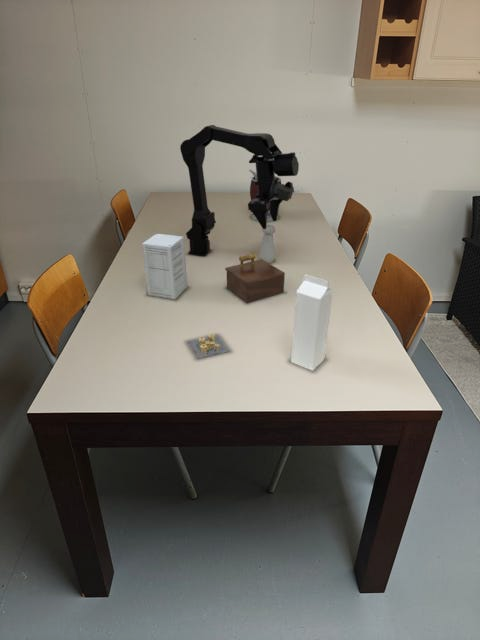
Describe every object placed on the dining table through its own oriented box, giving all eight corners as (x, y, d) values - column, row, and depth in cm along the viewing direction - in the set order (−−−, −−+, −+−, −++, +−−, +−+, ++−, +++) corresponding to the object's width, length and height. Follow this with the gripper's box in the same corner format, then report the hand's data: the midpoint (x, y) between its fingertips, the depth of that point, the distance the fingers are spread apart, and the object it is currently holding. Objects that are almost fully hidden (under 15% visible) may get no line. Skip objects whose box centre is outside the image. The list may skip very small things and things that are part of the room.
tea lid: (225, 269, 142) (225, 257, 139) (261, 261, 148) (261, 249, 146) (246, 284, 132) (247, 271, 130) (284, 274, 139) (285, 262, 137)
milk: (303, 351, 114) (310, 269, 103) (324, 359, 111) (335, 276, 100) (290, 362, 110) (297, 278, 99) (312, 371, 107) (322, 285, 96)
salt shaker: (274, 265, 160) (276, 229, 154) (258, 263, 161) (259, 228, 155) (276, 258, 165) (278, 223, 159) (260, 257, 166) (261, 222, 160)
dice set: (201, 354, 112) (201, 348, 111) (195, 344, 116) (194, 337, 115) (221, 350, 114) (221, 343, 113) (213, 340, 118) (213, 333, 117)
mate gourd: (285, 216, 209) (288, 170, 199) (270, 224, 199) (272, 177, 189) (256, 210, 216) (257, 166, 206) (240, 217, 206) (241, 172, 196)
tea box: (226, 288, 144) (226, 270, 141) (262, 279, 150) (262, 262, 147) (246, 303, 135) (246, 285, 132) (283, 292, 142) (284, 274, 139)
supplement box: (188, 287, 144) (185, 236, 136) (175, 300, 137) (171, 247, 128) (161, 282, 147) (156, 232, 139) (146, 295, 139) (141, 242, 131)
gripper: (279, 182, 135) (282, 234, 142) (299, 170, 150) (301, 217, 157) (244, 183, 140) (250, 233, 147) (267, 171, 154) (271, 217, 161)
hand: (269, 224), depth 153 cm, fingers open, 9 cm apart
